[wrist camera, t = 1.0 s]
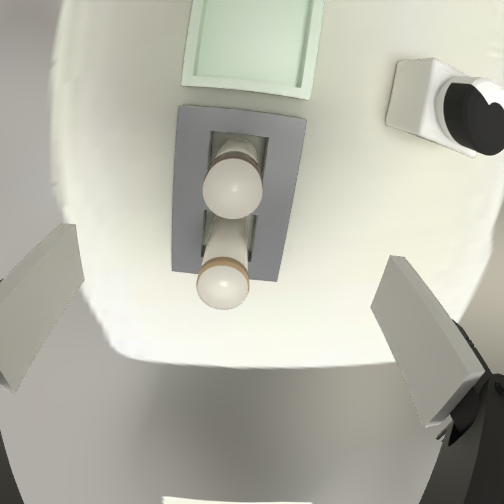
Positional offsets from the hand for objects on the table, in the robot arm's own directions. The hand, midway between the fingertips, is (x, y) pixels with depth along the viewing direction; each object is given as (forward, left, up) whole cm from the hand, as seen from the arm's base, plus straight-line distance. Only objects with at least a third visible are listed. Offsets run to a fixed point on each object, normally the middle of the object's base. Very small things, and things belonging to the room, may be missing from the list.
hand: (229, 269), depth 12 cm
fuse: (+8, 0, -22) cm, 23 cm away
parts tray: (-14, 0, -22) cm, 26 cm away
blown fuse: (0, 0, -22) cm, 22 cm away
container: (-10, +19, -22) cm, 30 cm away
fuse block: (+4, 0, -22) cm, 22 cm away
